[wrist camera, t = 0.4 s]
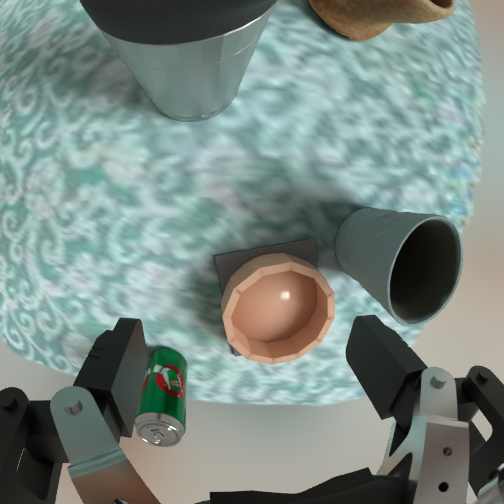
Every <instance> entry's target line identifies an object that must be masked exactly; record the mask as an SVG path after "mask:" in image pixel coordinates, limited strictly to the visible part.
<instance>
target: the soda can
mask: <svg viewBox="0 0 504 504" xmlns="http://www.w3.org/2000/svg"><path fill="white" fill-rule="evenodd" d="M186 386H187V362H186V360H185V358H184V357H183V356H182V355H181V354H180V353H178V352H177V351H175V350H172V349H167V348H162V349H157V350H155V351H153V352H152V353H151V354H150V355H149V357H148V364H147V370H146V374H145V378H144V382H143V386H142V391H141V395H140V399H139V403H138V408H137V412H136V417H135V422H134V425H135V427H136V432H137V435H138V436H139V437H140V438H141V439H142V440H143V441H145V442H147V443H149V444H151V445H155V446H160V447H170V446H174V445H176V444H178V443H179V442H180V440H181V438H182V436H183V435H184V433H185V428H186V427H185V426H186V419H185V418H186Z"/></svg>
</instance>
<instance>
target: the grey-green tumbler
mask: <svg viewBox="0 0 504 504" xmlns="http://www.w3.org/2000/svg"><path fill="white" fill-rule="evenodd" d="M335 252H336V258H337V260H338V262H339V264H340V265H341V267H342V268H343V270H344V271H345V272H347V273H348V274H349V275H350V276H351V277H352V278H353V279H354V280H356V281H358V282H359V283H360V284H361V285H362V287H363V288H364V289H365V290H366V291H367V292H368V293H369V294H370V295H371V296H372V297H373V298H375V299H376V300H377V301H378V302H380V304H381V305H382V306H383V308H384V309H385V310H386V311H387V312H388V313H389V314H390V315H391V316H392V317H393V318H394V319H395V320H396V321H397V322H398V323H400V324H401V325H404V326H408V327H414V326H419V325H422V324H424V323H426V322H428V321H430V320H431V319H433V318H434V317H435V316H436V315H437V314H439V312H441V311H442V310H443V309H444V307H445V306H446V305H447V303H448V302H449V300H450V299H451V297H452V295H453V293H454V291H455V289H456V287H457V285H458V282H459V279H460V275H461V271H462V265H463V247H462V240H461V237H460V234H459V231H458V230H457V228H456V226H455V225H454V224H453V223H452V222H451V221H450V220H449V219H447V218H445V217H443V216H440V215H433V214H417V213H411V212H403V213H402V212H396V211H391V210H384V209H376V208H363V209H360V210H357V211H355V212H353V213H352V214H350V215H349V216H348V217H347V218H346V219H345V220H344V221H343V223H342V224H341V226H340V228H339V230H338V233H337V236H336V240H335Z"/></svg>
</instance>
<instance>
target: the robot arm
mask: <svg viewBox="0 0 504 504" xmlns="http://www.w3.org/2000/svg"><path fill="white" fill-rule="evenodd" d="M80 2H81V4H82V6H83V8H84V9H85V11H86V12H87V13H88V15H89V16H90V17H91V19H92V20H93V21H94V23H95V24H96V25H97V27H98V28H99V29H100V31H101V32H102V33H103V35H104V36H105V38H106V39H107V40H108V42H109V43H110V44H111V46H112V47H113V48H114V49H115V51H116V52H117V53H118V55H119V56H120V57H121V59H122V60H123V62H124V63H125V64H126V66H127V67H128V68H129V70H130V71H131V72H132V74H133V75H134V77H135V78H136V79H137V81H138V82H139V83H140V85H141V86H142V88H143V89H144V90H145V92H146V93H147V95H148V96H149V97H150V99H151V100H152V101H153V103H154V104H155V106H156V107H157V108H158V109H159V110H160V111H161V112H162V113H163V114H165V115H167V116H168V117H170V118H173V119H176V120H179V121H187V122H193V121H201V120H205V119H209V118H211V117H213V116H215V115H217V114H219V113H220V112H221V111H223V110H224V109H225V108H226V107H227V106H228V105H229V104H230V103H231V102H232V100H233V98H234V97H235V95H236V93H237V90H238V88H239V85H240V83H241V81H242V78H243V76H244V74H245V71H246V69H247V66H248V64H249V62H250V59H251V57H252V55H253V52H254V50H255V48H256V45H257V43H258V41H259V39H260V36H261V34H262V32H263V30H264V28H265V26H266V23H267V21H268V19H269V16H270V14H271V12H272V10H273V8H274V6H275V4H276V2H277V0H80ZM346 359H347V362H348V364H349V365H350V367H351V369H352V370H353V372H354V374H355V375H356V377H357V379H358V380H359V382H360V384H361V385H362V387H363V389H364V391H365V392H366V394H367V396H368V397H369V399H370V400H371V402H372V404H373V406H374V408H375V409H376V411H377V413H378V414H379V416H380V418H381V419H382V420H383V419H386V418H389V417H392V416H394V418H395V421H394V422H393V424H392V427H391V432H390V436H389V440H388V444H387V449H386V452H385V456H384V459H383V463H382V465H381V467H380V469H379V470H378V472H377V473H376V475H372V474H371V472H370V470H369V468H368V467H367V468H365V469H361V470H358V471H354V472H351V473H347V474H344V475H340V476H336V477H334V478H331V479H329V480H327V481H325V482H323V483H321V484H319V485H317V486H315V487H312V488H310V489H308V490H306V491H303V492H301V493H297V494H288V493H272V492H262V491H253V490H252V491H235V492H210V500H207V501H202V502H198V503H195V504H466V496H467V487H468V482H469V483H470V485H471V487H472V489H473V491H474V493H475V495H476V496H477V500H476V501H475V502H474V503H473V504H504V385H503V384H502V382H501V381H500V380H499V379H498V378H497V377H496V376H495V375H494V374H493V373H492V372H491V371H490V370H489V369H487V368H485V367H483V366H473V367H472V368H471V369H470V371H469V372H468V374H467V376H466V377H465V378H453V376H452V375H451V374H450V373H449V372H447V371H446V370H444V369H442V368H438V367H430V368H428V367H427V366H426V365H425V364H424V362H423V361H422V360H421V359H420V358H419V357H418V356H417V355H416V353H415V352H414V351H413V350H412V349H411V348H410V347H408V344H407V343H406V342H405V341H403V339H402V338H401V337H400V336H399V335H398V334H397V332H396V331H394V330H392V329H391V328H389V327H387V326H386V325H384V324H383V323H382V322H381V320H380V319H379V318H378V317H377V316H376V315H366V316H357V317H356V318H355V320H354V322H353V326H352V329H351V333H350V336H349V340H348V343H347V346H346ZM147 364H148V355H147V349H146V344H145V338H144V332H143V326H142V322H141V320H140V319H134V318H119V320H118V322H117V324H116V326H115V328H114V330H113V331H112V330H106V331H105V332H104V333H102V334H101V335H100V336H99V337H98V338H97V339H96V341H95V343H94V345H93V346H92V349H91V350H90V352H89V354H88V357H87V358H86V360H85V362H84V364H83V366H82V368H81V370H80V372H79V374H78V376H77V378H76V380H75V382H74V384H73V386H71V387H66V388H63V389H61V390H59V391H58V392H56V394H55V395H54V396H53V397H52V399H51V400H45V401H29V399H28V398H27V396H26V394H25V393H24V392H23V391H22V390H21V389H19V388H15V387H9V388H5V389H3V390H1V391H0V504H55V500H56V494H57V489H58V483H59V478H60V474H61V469H62V464H63V463H70V466H69V467H68V472H69V475H70V477H71V480H72V482H73V484H74V486H75V488H76V490H77V492H78V494H79V496H80V498H81V499H82V501H83V503H84V504H161V503H160V502H159V501H158V500H157V498H156V497H155V496H154V495H153V494H152V492H151V491H150V489H149V488H148V487H147V486H146V484H145V483H144V482H143V480H142V479H141V477H140V476H139V475H138V473H137V472H136V470H135V469H134V467H133V466H132V464H131V463H130V461H129V460H128V458H127V457H126V455H125V454H124V452H123V451H122V449H121V448H120V446H119V441H120V437H121V436H124V437H130V438H131V437H132V431H133V426H134V422H135V417H136V412H137V408H138V403H139V399H140V395H141V391H142V386H143V382H144V378H145V374H146V370H147ZM479 409H480V410H481V412H482V413H483V414H484V416H485V417H486V419H487V420H488V421H489V423H490V424H491V426H492V429H493V431H492V435H491V437H490V438H489V439H488V440H487V442H486V441H485V439H484V438H483V437H482V435H481V434H480V432H479V431H478V429H477V428H476V426H475V425H474V423H473V422H472V418H473V417H474V416H475V414H476V413H477V412H478V410H479ZM23 449H24V450H23ZM22 451H23V453H22ZM21 454H22V456H21ZM20 457H21V459H20ZM19 460H20V463H19ZM18 464H19V466H18ZM17 467H18V469H17ZM16 472H17V473H16Z"/></svg>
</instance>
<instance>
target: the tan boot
mask: <svg viewBox="0 0 504 504" xmlns="http://www.w3.org/2000/svg"><path fill="white" fill-rule="evenodd" d="M309 3H310V5H311V7H312V8H313V9H314V10H315V12H316V13H317V14H318V15H319V16H320V17H321V18H322V19H323V20H324V21H325V22H326V23H327V24H328V25H329V26H330V27H332V28H333V29H334V30H335V31H337V32H338V33H340V34H342V35H345V36H347V37H348V38H349V39H350V40H353V41H358V42H360V41H365V40H368V39H371V38H373V37H375V36H377V35H379V34H380V33H382V32H383V31H385V30H386V29H387V28H388V27H389V26H390V25H391V24H393V23H414V24H416V23H427V22H432V21H436V20H440V19H443V18H446V17H448V16H450V15H451V14H452V13H453V11H454V8H455V0H309Z"/></svg>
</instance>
